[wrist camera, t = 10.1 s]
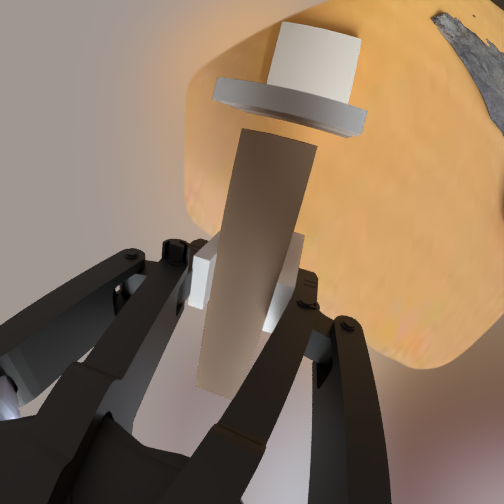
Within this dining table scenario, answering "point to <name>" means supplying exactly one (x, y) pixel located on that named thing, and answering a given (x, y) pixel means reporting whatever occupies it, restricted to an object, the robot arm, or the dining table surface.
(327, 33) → the tile
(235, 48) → the dining table surface
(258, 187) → the scraper
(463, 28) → the stone slab
